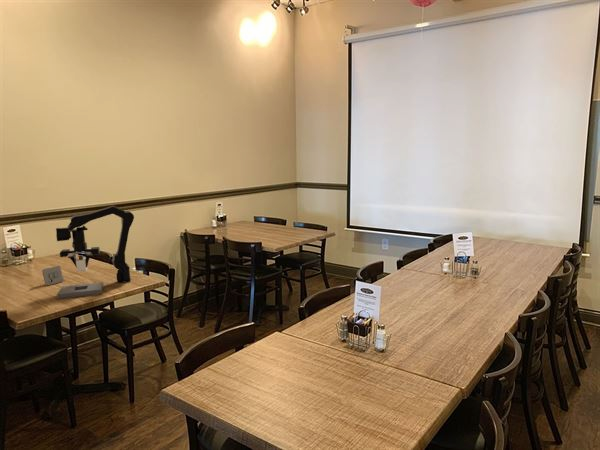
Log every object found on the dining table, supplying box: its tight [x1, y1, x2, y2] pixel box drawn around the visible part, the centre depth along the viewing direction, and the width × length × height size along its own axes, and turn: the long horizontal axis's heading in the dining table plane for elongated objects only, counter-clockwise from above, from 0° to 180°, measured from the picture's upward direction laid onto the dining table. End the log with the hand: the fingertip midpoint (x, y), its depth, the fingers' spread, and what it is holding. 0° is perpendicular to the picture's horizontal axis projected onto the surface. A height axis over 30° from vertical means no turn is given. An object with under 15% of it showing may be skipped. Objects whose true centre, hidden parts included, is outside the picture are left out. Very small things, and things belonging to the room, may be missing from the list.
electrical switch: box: [41, 265, 65, 286], centre depth 251 cm, size 9×5×9 cm, turn 141°
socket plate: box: [56, 281, 105, 300], centre depth 234 cm, size 20×13×2 cm, turn 107°
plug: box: [75, 255, 88, 273], centre depth 240 cm, size 4×4×8 cm
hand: (82, 267), depth 241 cm, fingers closed on plug, 4 cm apart
